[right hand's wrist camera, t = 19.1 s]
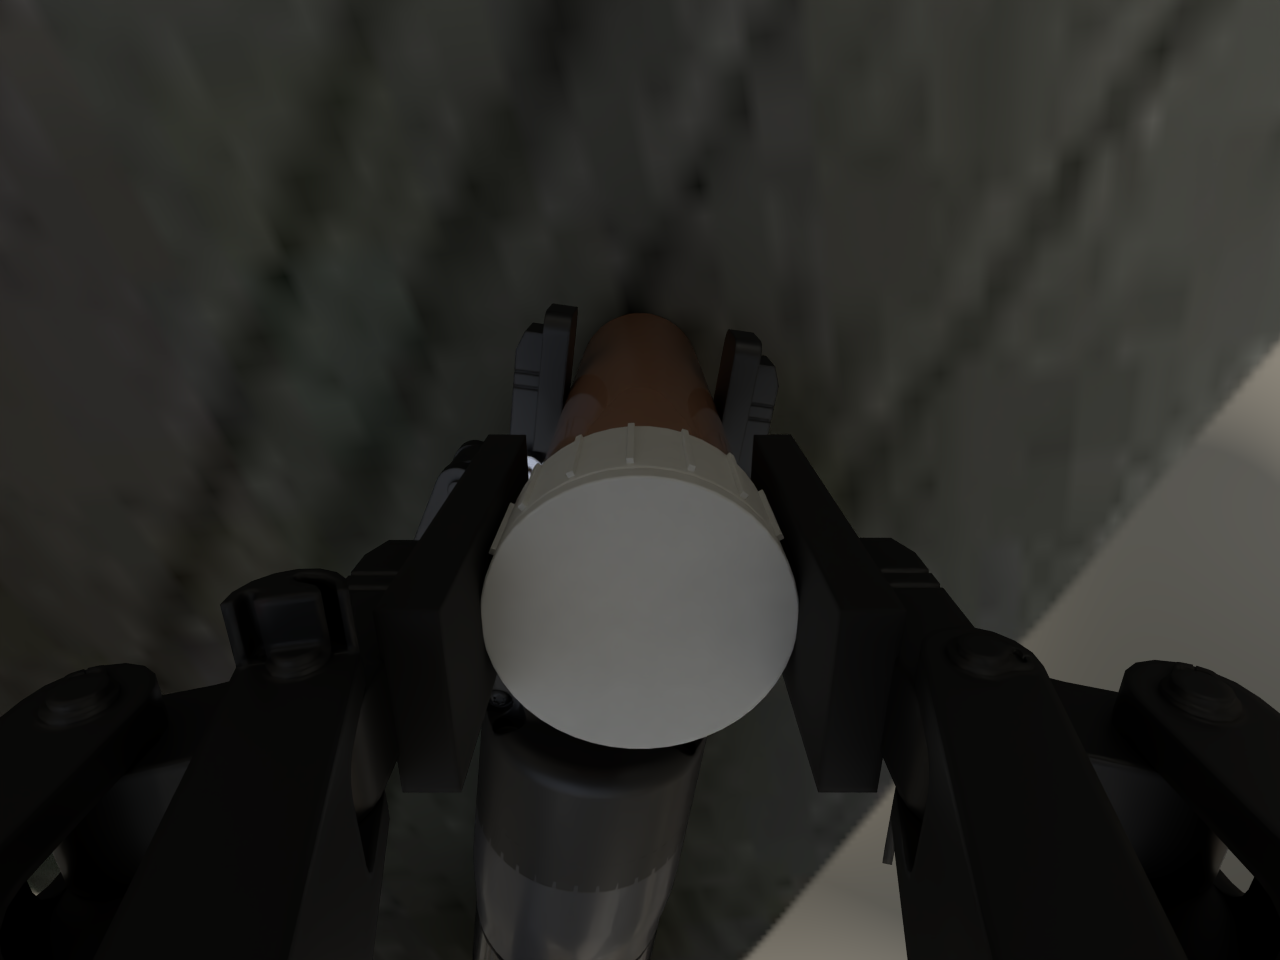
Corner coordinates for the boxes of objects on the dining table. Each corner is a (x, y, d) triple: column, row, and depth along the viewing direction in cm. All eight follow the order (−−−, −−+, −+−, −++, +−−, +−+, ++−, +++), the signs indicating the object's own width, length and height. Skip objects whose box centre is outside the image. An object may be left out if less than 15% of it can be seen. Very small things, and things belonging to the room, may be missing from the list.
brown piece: (557, 361, 25) (443, 575, 11) (651, 287, 24) (669, 412, 10) (629, 449, 26) (615, 750, 12) (720, 382, 25) (830, 621, 11)
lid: (832, 517, 12) (874, 585, 10) (674, 703, 13) (680, 798, 11) (599, 364, 11) (589, 403, 9) (456, 583, 12) (417, 662, 10)
